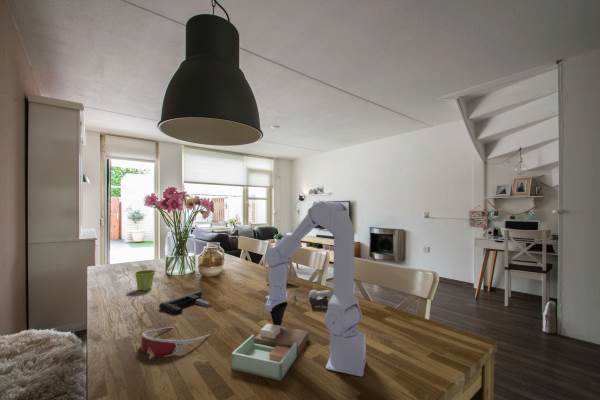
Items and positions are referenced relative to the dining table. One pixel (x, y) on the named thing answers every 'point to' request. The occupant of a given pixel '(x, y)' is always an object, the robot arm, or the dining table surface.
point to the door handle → (183, 302)
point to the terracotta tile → (278, 353)
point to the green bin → (261, 360)
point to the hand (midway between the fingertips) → (277, 325)
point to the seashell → (289, 274)
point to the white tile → (270, 331)
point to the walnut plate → (285, 338)
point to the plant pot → (144, 279)
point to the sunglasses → (164, 344)
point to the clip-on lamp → (317, 297)
